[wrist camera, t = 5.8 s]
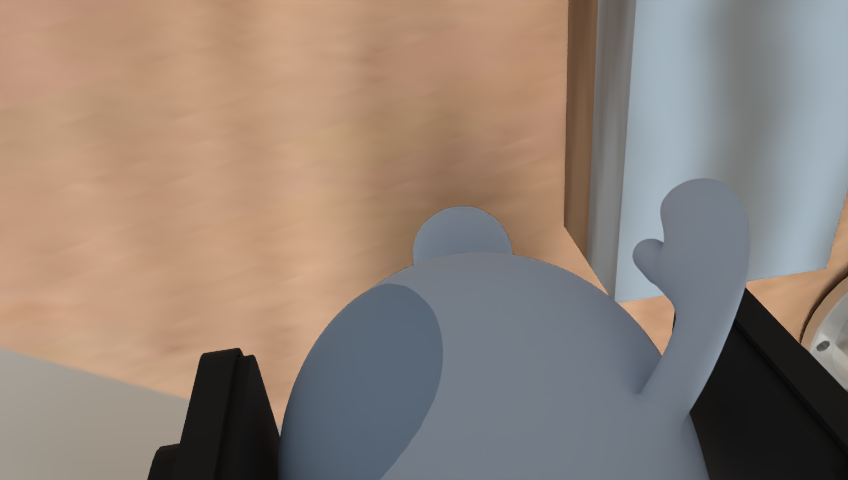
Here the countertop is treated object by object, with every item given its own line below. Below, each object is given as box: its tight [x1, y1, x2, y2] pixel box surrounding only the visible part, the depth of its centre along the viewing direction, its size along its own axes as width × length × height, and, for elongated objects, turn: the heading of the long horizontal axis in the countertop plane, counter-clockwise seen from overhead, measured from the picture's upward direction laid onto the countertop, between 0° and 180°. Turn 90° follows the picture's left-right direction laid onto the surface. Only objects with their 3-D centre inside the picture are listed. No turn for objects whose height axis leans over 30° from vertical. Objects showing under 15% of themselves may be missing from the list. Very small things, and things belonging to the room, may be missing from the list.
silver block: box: [564, 0, 848, 303], centre depth 29 cm, size 10×14×7 cm
